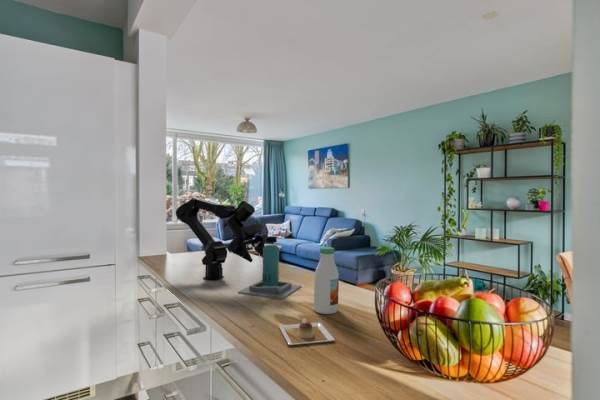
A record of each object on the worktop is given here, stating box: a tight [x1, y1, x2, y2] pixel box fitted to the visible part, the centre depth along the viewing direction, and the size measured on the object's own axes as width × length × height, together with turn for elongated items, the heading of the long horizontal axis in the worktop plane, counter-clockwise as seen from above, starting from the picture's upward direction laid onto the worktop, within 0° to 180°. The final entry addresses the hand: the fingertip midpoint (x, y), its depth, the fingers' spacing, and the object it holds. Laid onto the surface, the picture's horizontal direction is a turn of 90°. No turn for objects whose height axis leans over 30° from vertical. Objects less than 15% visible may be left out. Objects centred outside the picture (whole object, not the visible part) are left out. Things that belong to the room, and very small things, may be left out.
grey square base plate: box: [237, 279, 302, 301], centre depth 127 cm, size 18×18×2 cm
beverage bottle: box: [261, 235, 280, 287], centre depth 127 cm, size 6×7×20 cm
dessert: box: [278, 317, 336, 346], centre depth 86 cm, size 12×12×5 cm
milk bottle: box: [313, 246, 340, 315], centre depth 105 cm, size 8×8×20 cm
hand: (259, 259), depth 130 cm, fingers open, 9 cm apart
